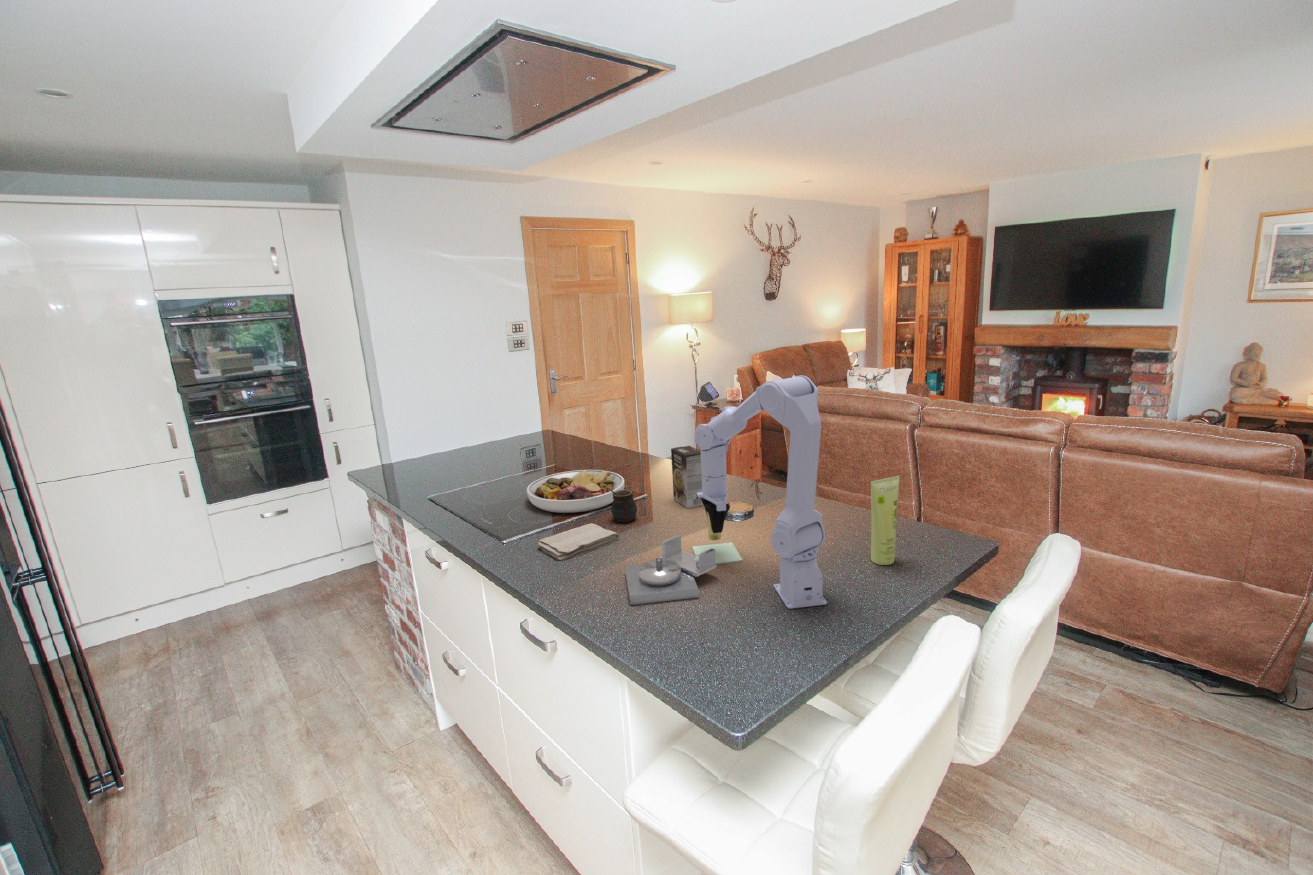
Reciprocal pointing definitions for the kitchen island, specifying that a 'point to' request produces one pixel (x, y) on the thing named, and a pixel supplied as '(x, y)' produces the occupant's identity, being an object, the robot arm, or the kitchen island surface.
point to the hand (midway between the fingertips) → (715, 529)
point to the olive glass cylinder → (710, 533)
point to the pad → (720, 552)
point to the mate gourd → (623, 506)
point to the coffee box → (686, 475)
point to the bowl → (574, 490)
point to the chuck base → (659, 588)
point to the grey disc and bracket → (675, 564)
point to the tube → (884, 519)
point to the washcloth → (577, 541)
